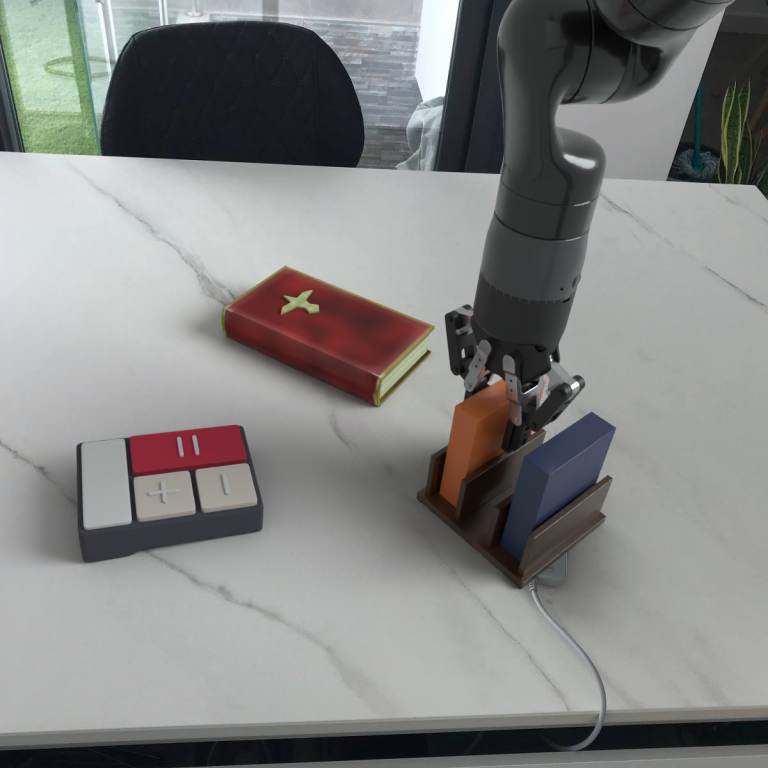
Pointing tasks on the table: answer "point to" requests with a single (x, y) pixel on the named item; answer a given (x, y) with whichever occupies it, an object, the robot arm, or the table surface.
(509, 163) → the robot arm
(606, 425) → the navy book
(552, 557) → the book rack
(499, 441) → the orange book
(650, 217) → the table surface
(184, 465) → the calculator
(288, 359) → the hardcover book
